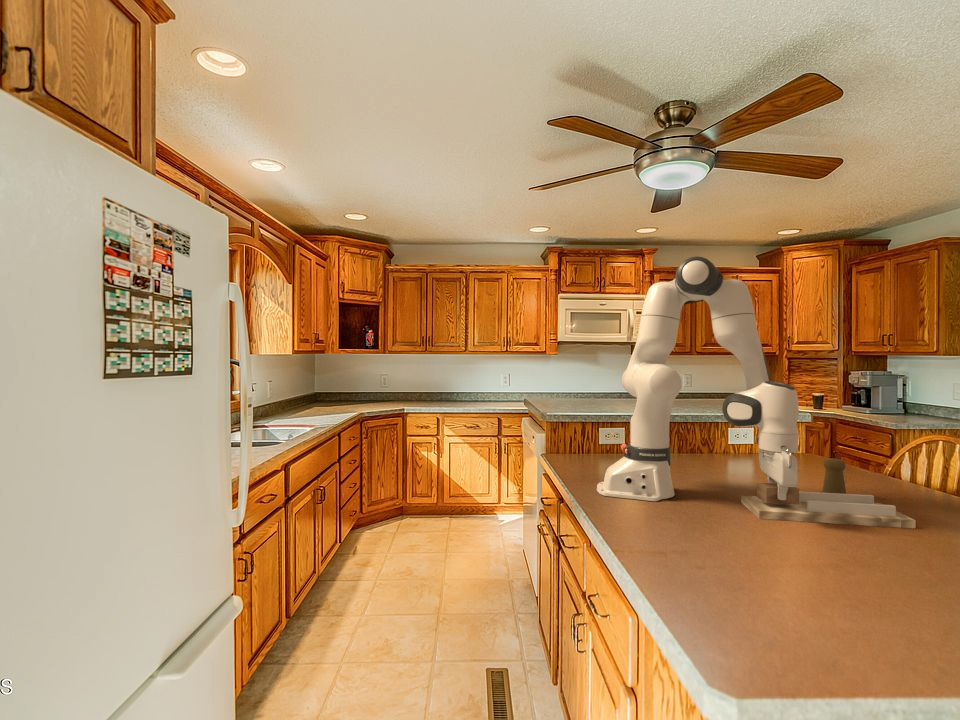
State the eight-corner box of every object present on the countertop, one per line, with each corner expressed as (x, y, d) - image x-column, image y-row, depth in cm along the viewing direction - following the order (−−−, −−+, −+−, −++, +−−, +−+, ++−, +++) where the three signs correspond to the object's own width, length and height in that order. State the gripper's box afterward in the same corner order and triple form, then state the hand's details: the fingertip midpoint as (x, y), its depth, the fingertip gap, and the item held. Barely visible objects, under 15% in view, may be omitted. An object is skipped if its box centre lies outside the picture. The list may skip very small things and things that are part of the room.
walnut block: (766, 503, 125) (766, 487, 125) (757, 497, 130) (757, 482, 130) (798, 504, 125) (799, 488, 125) (788, 498, 130) (788, 483, 129)
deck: (759, 518, 122) (759, 510, 122) (741, 502, 136) (741, 495, 136) (915, 528, 115) (915, 520, 115) (880, 510, 129) (880, 503, 129)
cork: (838, 493, 146) (838, 457, 146) (852, 499, 140) (852, 461, 140) (817, 493, 146) (817, 456, 146) (829, 498, 140) (829, 460, 140)
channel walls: (808, 511, 122) (808, 501, 122) (791, 500, 132) (791, 491, 132) (895, 516, 118) (895, 506, 118) (871, 504, 128) (871, 495, 128)
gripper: (806, 451, 117) (805, 508, 117) (779, 438, 136) (779, 487, 136) (776, 449, 118) (775, 505, 118) (754, 436, 138) (753, 485, 138)
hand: (777, 495), depth 127 cm, fingers closed on walnut block, 5 cm apart
